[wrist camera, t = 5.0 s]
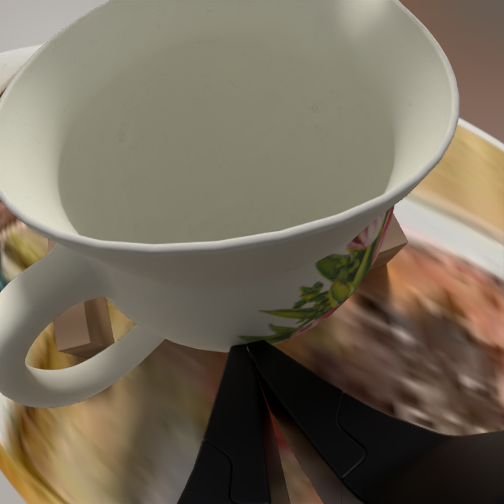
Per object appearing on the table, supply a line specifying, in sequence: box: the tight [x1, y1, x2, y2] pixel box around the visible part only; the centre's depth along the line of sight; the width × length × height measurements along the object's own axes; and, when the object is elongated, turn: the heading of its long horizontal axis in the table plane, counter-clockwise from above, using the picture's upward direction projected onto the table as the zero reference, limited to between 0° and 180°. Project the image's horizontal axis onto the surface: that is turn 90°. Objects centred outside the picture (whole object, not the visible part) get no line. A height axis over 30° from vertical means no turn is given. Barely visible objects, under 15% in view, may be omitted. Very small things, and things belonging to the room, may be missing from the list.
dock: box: [48, 214, 408, 358], centre depth 17 cm, size 17×18×4 cm
